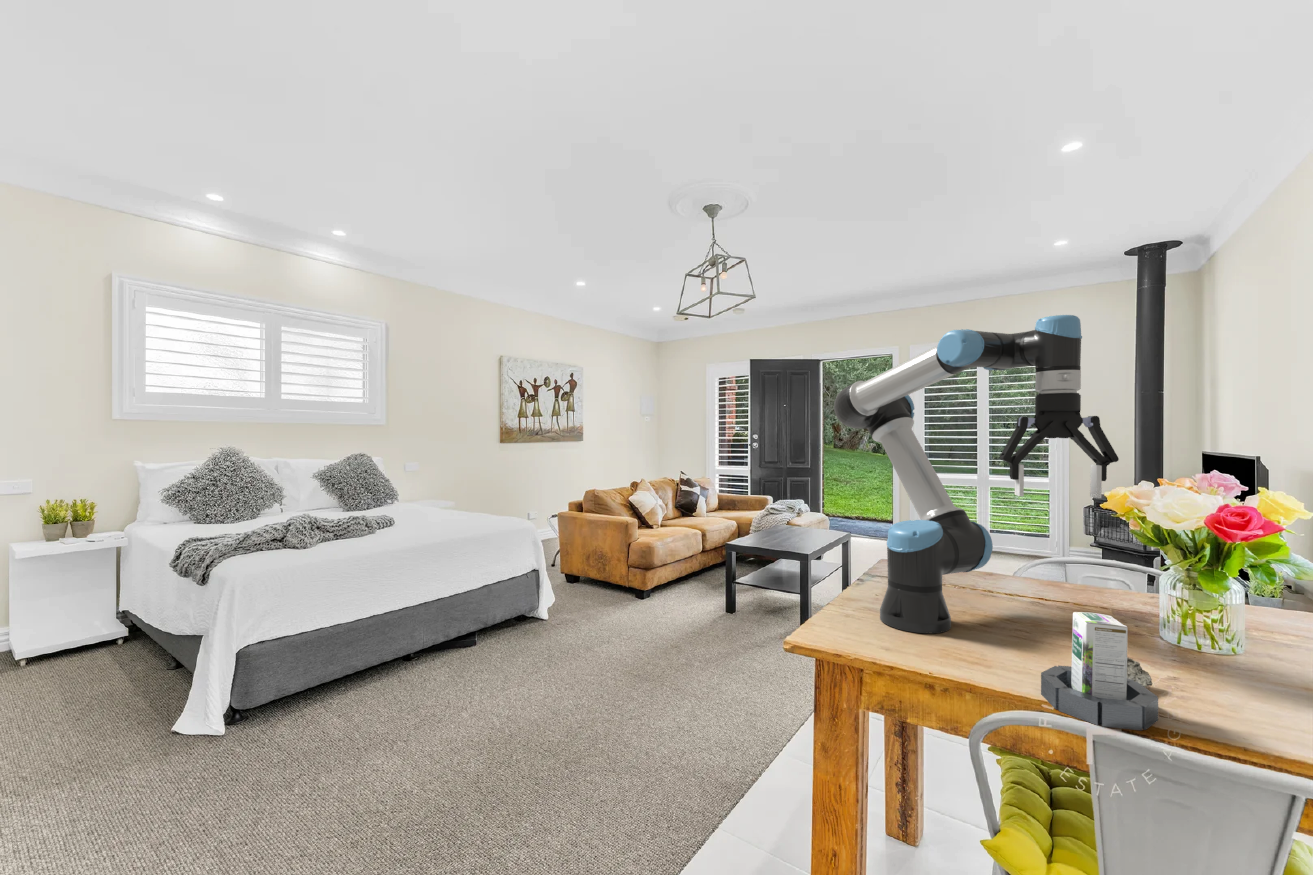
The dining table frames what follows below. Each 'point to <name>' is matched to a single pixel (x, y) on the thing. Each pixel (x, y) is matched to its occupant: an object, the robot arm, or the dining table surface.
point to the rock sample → (1138, 673)
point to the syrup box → (1099, 656)
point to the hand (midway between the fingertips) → (1056, 496)
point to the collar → (1100, 702)
